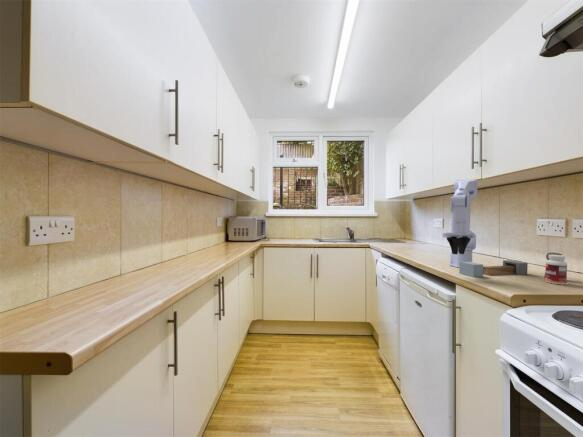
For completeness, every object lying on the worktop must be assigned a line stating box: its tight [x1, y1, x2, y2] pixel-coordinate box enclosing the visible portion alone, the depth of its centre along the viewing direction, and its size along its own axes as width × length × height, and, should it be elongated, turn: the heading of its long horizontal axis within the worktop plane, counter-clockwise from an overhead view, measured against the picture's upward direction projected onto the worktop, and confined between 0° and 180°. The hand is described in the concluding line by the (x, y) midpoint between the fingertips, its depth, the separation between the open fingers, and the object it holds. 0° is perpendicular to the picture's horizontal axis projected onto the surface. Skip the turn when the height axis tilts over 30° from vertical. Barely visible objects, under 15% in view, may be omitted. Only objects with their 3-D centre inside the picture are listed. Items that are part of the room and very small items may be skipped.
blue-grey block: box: [458, 261, 484, 278], centre depth 124 cm, size 7×5×5 cm
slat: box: [483, 265, 517, 276], centre depth 128 cm, size 3×16×4 cm, turn 103°
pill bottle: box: [544, 254, 568, 286], centre depth 111 cm, size 6×6×11 cm
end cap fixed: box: [502, 259, 529, 276], centre depth 130 cm, size 7×5×5 cm
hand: (458, 254), depth 123 cm, fingers open, 3 cm apart
